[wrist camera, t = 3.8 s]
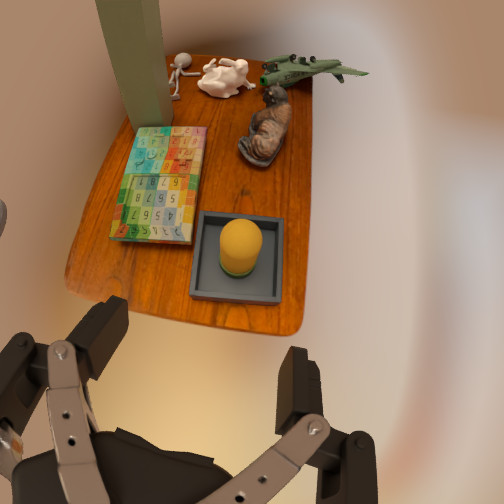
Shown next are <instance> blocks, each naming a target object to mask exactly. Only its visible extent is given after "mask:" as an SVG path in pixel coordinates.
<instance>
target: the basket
mask: <svg viewBox="0 0 504 504" xmlns="http://www.w3.org/2000/svg"><path fill="white" fill-rule="evenodd" d="M235 219H247V220H250V221H252V222H253V223H255V224H256V225H257V226H258V228H259V229H260V231H261V234H262V246H261V249H260V251H259V254H258V256H257V263H256V266H255V268H254V270H253V271H252V273H251V274H250V275H248V276H247V277H245V278H241V279H234V278H231V277H229V276H227V275H226V274H225V273H224V272H223V271H222V269H221V267H220V264H219V253H220V235H221V232H222V230H223V228H224V227H225V226H226V225H227V224H228V223H229V222H231V221H232V220H235ZM283 235H284V218H276V217H266V216H256V215H245V214H235V213H223V212H211V211H200V212H199V219H198V226H197V233H196V240H195V248H194V255H193V263H192V272H191V280H190V289H189V295H190V297H191V298H192V299H196V300H206V301H217V302H228V303H240V304H254V305H268V306H276V305H278V304H279V303H281V297H282V270H283Z"/></svg>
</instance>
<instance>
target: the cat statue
mask: <svg viewBox="0 0 504 504" xmlns="http://www.w3.org/2000/svg"><path fill="white" fill-rule="evenodd" d="M263 101H264V102H265V103H266V108H265V109H263V110H262V111H258V112H257V113H254V114H253V115H252V118H251V122H250V126H249V138H248V137H246V136H243V137H241V138H240V139H239V142H238V148H239V150H240V151H241V153H242V154H243V156H244V157H245V158H246V159H247V160H248V161H249V162H251V163H252V164H254V165H256V166H260V167H266V166H268V165H269V164H270V163H271V162H272V160H273V159H274V157H275V156H276V154H277V153H278V151H279V150H280V147H281V145H282V143H283V138H284V136H285V134H286V132H287V128H288V124H289V122H290V120H291V115H292V114H291V106H290V104H289V103H288V96H287V92H286V91H285V89H284V88H282V87H280V86H279V83H278V82H277V86H275V85H274V86H271V87H269V89H265V93H264V94H263Z"/></svg>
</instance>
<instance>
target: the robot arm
mask: <svg viewBox="0 0 504 504" xmlns="http://www.w3.org/2000/svg"><path fill="white" fill-rule="evenodd" d="M128 325H129V319H128V303H127V300H125V299H122V298H120V297H117V296H114V295H112V296H111V297H110V298H109V299H108V300H107V301H106V303H103V302H100V303H98V304H96V305H95V306H93V307H92V308H91V309H90V310H89V311H88V313H87V315H85V316H84V317H83V318H82V320H81V321H80V322H79V323H78V325H77V326H76V327H75V328H74V329H73V331H72V332H71V333H70V334H69V336H68V337H67V338H66V339H65V340H58V341H55V342H53V343H52V344H51V345H46V344H40V343H35V341H34V339H33V337H32V336H31V335H30V334H29V333H26V332H20V333H17V334H16V335H14V336H13V337H12V339H11V340H10V341H9V342H8V344H7V345H6V346H5V347H4V349H3V350H2V351H1V353H0V474H1V475H3V476H4V477H5V478H7V479H8V480H9V481H10V482H11V486H12V495H13V504H266V503H267V502H269V501H270V500H271V499H272V498H273V497H274V496H275V495H276V494H277V493H278V492H279V491H280V490H281V489H282V488H283V487H284V486H285V485H287V483H289V482H290V480H291V479H292V478H293V477H294V476H295V475H296V474H297V473H298V472H299V471H300V469H301V467H302V466H303V465H304V464H308V465H310V466H313V467H316V468H318V480H317V493H316V504H378V488H377V469H376V456H375V445H374V441H373V439H372V437H371V436H370V435H369V434H368V433H366V432H364V431H354V432H352V433H351V434H350V435H349V434H347V433H344V432H341V431H338V430H335V429H334V428H332V427H331V426H330V425H329V423H328V421H327V420H326V419H325V418H324V415H323V406H322V405H323V404H322V392H321V381H320V370H319V368H318V366H317V365H316V363H315V361H310V360H308V354H307V349H305V348H300V347H295V346H291V347H290V348H289V350H288V353H287V355H286V357H285V358H284V361H283V363H282V365H281V367H280V370H279V375H278V390H277V409H276V427H275V434H278V435H282V438H281V439H280V440H279V441H278V442H277V443H275V444H274V445H273V446H271V447H270V448H269V449H268V450H267V451H265V452H264V453H263V454H262V455H261V456H260V457H259V458H257V459H256V460H255V461H254V462H253V463H251V464H250V465H249V466H248V467H246V468H245V469H244V470H243V471H241V472H240V473H239V474H238V475H236V476H235V477H234V478H233V476H232V475H231V474H229V473H228V472H227V471H226V470H224V469H223V468H221V467H220V466H218V465H216V464H214V463H213V461H214V458H210V457H206V456H202V455H198V454H194V453H190V452H176V451H166V450H161V449H159V448H158V447H156V446H154V445H153V444H151V443H150V442H148V441H146V440H145V439H143V438H142V437H140V436H138V435H135V434H132V433H130V432H128V431H125V430H123V429H120V428H118V427H117V429H116V431H115V432H111V431H99V428H98V425H97V423H96V420H95V417H94V413H93V409H92V406H91V401H90V396H89V392H88V386H87V381H88V380H89V378H92V379H94V380H96V381H97V380H98V378H99V377H100V375H101V373H102V371H103V370H104V368H105V367H106V365H107V363H108V362H109V360H110V358H111V357H112V355H113V353H114V352H115V350H116V349H117V347H118V345H119V344H120V342H121V341H122V339H123V337H124V336H125V334H126V332H127V329H128ZM47 387H49V389H47V390H46V397H47V407H48V414H49V421H50V427H51V433H52V438H53V443H54V448H55V449H52V450H49V451H47V452H44V453H41V454H38V455H36V456H33V457H30V458H27V459H24V460H22V454H23V442H22V439H21V435H22V433H23V431H24V429H25V427H26V425H27V423H28V421H29V419H30V417H31V415H32V413H33V411H34V409H35V408H36V406H37V404H38V402H39V400H40V398H41V397H42V395H43V393H44V391H45V389H46V388H47Z"/></svg>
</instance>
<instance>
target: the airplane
mask: <svg viewBox="0 0 504 504" xmlns="http://www.w3.org/2000/svg"><path fill="white" fill-rule="evenodd" d="M295 59H296V55H295V54H292V55H284V56H278V57H274V58H270V59H267V60H266V61H265V62H266V63H273V64H270V65H268V67H267V64H265V63H264V64H263V65H262V68H263V69H265V70H266V68H267V70H266V71H265V72H264V73H265V74H264V75H263V76H261V77H260V85H262V86H274V85H275V86H277V82H278V83H279V86H280V87H282V88H286V87H289V86H292V85H293V84H295V83H297V82H298V81H299V80H300V79H303V78H306V77H309V76H312V75H315V74H318V73H321V72H326V73H332V74H333V75H334V76H335V78H336V79H337V80H338V81H339V82H340V83H344V79H343V76H342V74H350V75H359V76H363V75H367V74H368V73H367V72H361V71H357V70H356V69H352V68H348V67H344V66H341V62H340V61H339V60H316V58H315V57H314V56H311V57H310V61H309V62H306V58H305V57H299V58H298V62H297V61H294V60H295ZM274 62H277V65H278V69H276V67H275V63H274ZM268 70H269V72H267V71H268Z"/></svg>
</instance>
